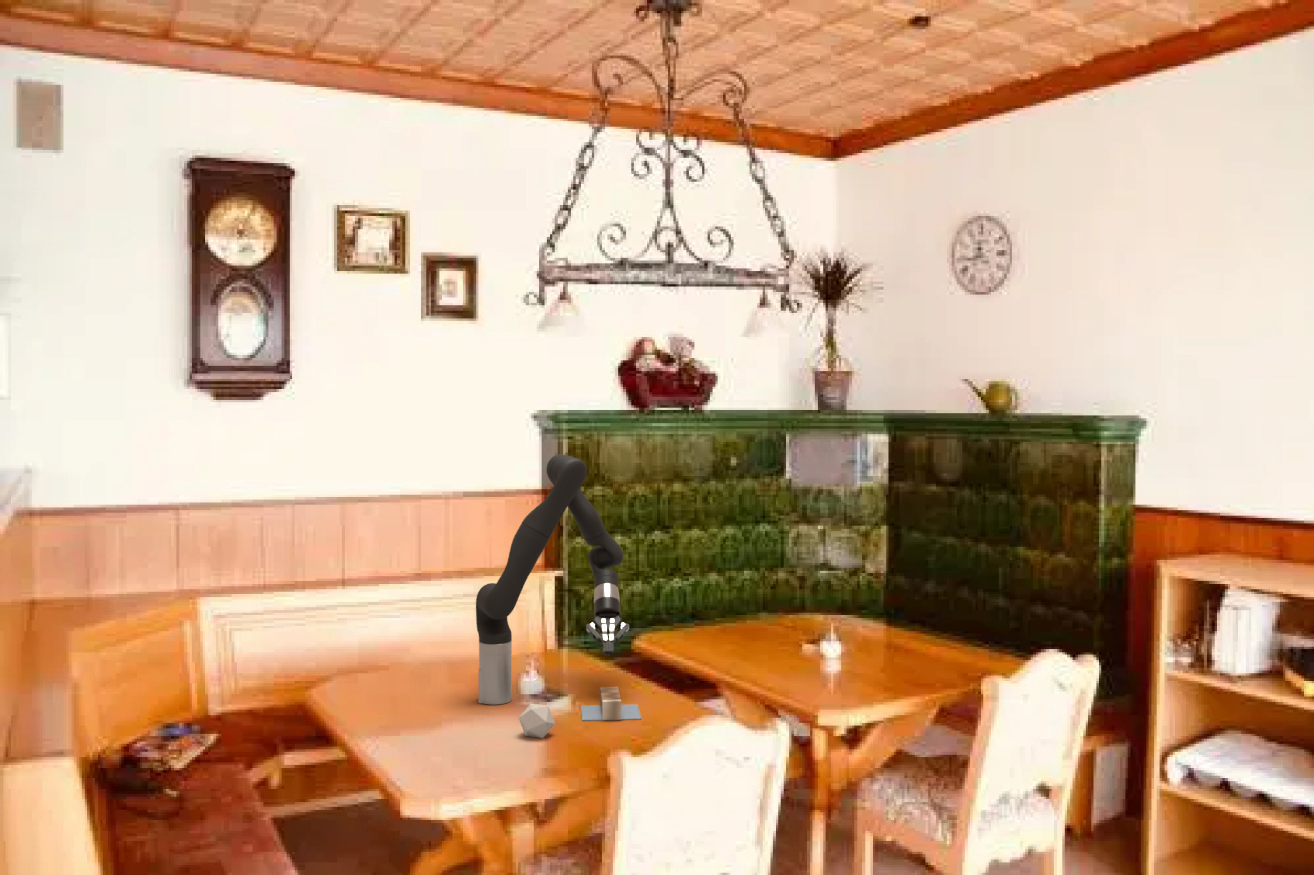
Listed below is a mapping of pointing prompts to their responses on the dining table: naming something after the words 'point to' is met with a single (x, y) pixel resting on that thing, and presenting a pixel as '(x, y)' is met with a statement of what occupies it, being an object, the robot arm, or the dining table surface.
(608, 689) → the block
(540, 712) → the die
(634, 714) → the board
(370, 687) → the dining table surface
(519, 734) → the dining table surface
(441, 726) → the dining table surface
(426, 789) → the dining table surface
